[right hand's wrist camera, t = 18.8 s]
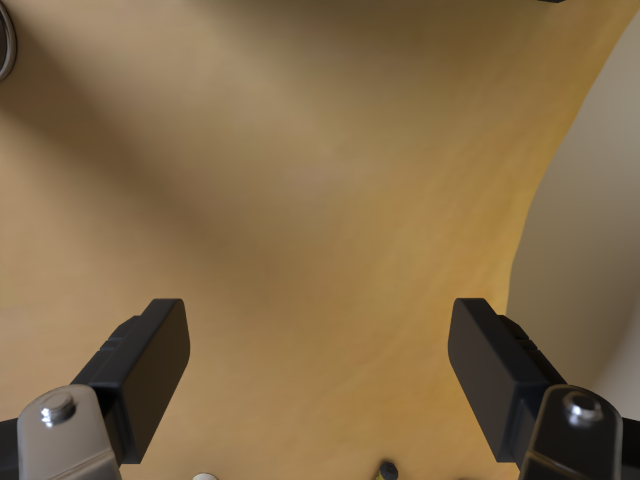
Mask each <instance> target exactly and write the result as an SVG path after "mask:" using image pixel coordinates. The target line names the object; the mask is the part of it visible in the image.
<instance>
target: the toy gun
mask: <svg viewBox="0 0 640 480" xmlns="http://www.w3.org/2000/svg"><path fill="white" fill-rule="evenodd" d="M397 478H398V470H397V469H396V467H395V466H394V464H391V463H384V464H382V466H381V467H380V471H379V475H378V476H377V477H376V480H397Z"/></svg>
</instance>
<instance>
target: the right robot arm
mask: <svg viewBox="0 0 640 480" xmlns="http://www.w3.org/2000/svg"><path fill="white" fill-rule="evenodd" d="M15 55H16V39H15V33H14V29H13V26H12V23H11V21H10V18H9V16H8V14H7V12H6V10H5V9H4V7H3V5H2V4H1V3H0V81H1V80H3V79H4V78H5V77H6V76H7V75H8V73H9V72H10V70H11V68H12V66H13V63H14V60H15ZM448 355H449V360H450V363H451V365H452V368H453V370H454V372H455V374H456V376H457V378H458V380H459V382H460V385H461V387H462V389H463V391H464V393H465V395H466V397H467V399H468V402H469V404H470V406H471V408H472V410H473V412H474V414H475V416H476V419H477V421H478V423H479V425H480V427H481V429H482V431H483V433H484V436H485V438H486V440H487V442H488V444H489V446H490V448H491V451H492V453H493V455H494V457H495V459H496V461H497V462H515V463H516V465H517V466H518V468H519V470H520V474H519V478H518V480H640V421H636V420H632V419H628V418H623V417H621V416H620V414H619V412H618V411H617V410H616V409H615V408H614V406H612V405H611V404H610V403H609V402H608V401H607V400H605V399H604V398H602V397H601V396H599V395H597V394H595V393H593V392H592V391H589V390H587V389H584V388H581V387H578V386H573V385H568V384H567V383H566V381H565V380H564V379H563V378H562V377H561V375H560V374H559V373H558V372H557V371H556V369H555V368H554V367H553V366H552V365H551V363H550V362H549V361H548V360H547V358H546V357H545V356H544V355H543V354H542V352H541V351H540V350H538V349H537V346H536V345H535V344H534V343H533V342H532V340H529V337H528V336H527V334H526V333H525V332H524V331H523V330H522V328H521V327H520V326H519V325H518V324H516V323H515V322H513V321H512V320H510V319H509V318H507V317H506V316H504V315H497V314H496V313H495V312H494V310H493V309H492V308H491V306H490V305H489V304H488V302H487V301H486V300H485V299H484V298H457V299H456V300H455V302H454V305H453V312H452V318H451V325H450V332H449V339H448ZM189 356H190V339H189V332H188V326H187V319H186V312H185V306H184V302H183V300H182V299H154V300H152V301H151V303H150V304H149V305H148V307H147V308H146V309H145V310H144V312H143V313H142V314H141V316H133V317H132V318H130V319H129V320H127V321H126V322H124V323H123V324H121V325H119V326H118V327H117V329H116V330H115V331H114V332H113V333H112V335H111V336H110V337H109V338H108V341H106V342H105V343H104V344H103V345H102V346H101V348H100V351H97V352H96V354H95V355H94V356H93V357H92V358H91V360H90V361H89V362H88V363H87V364H86V366H85V367H84V368H83V369H82V370H81V372H80V373H79V374H78V375H77V376H76V377H75V379H74V380H73V381H72V382H71V383H70V385H66V386H62V387H59V388H56V389H53V390H51V391H48V392H47V393H45V394H43V395H41V396H39V397H38V398H36V399H35V400H33V401H32V402H31V403H30V404H29V405H28V406H26V408H25V409H24V410H23V411H22V412H21V414H20V416H19V417H18V418H15V419H11V420H6V421H2V422H0V480H122V478H121V474H120V471H119V468H120V466H121V464H140V463H141V461H142V459H143V457H144V454H145V452H146V450H147V448H148V446H149V444H150V442H151V440H152V438H153V436H154V433H155V431H156V429H157V427H158V425H159V423H160V421H161V419H162V417H163V415H164V412H165V410H166V408H167V406H168V404H169V402H170V400H171V398H172V396H173V394H174V391H175V389H176V387H177V385H178V383H179V381H180V379H181V377H182V375H183V372H184V370H185V368H186V366H187V364H188V361H189Z"/></svg>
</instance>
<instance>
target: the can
mask: <svg viewBox="0 0 640 480" xmlns="http://www.w3.org/2000/svg"><path fill="white" fill-rule="evenodd" d="M193 480H217V478H216V477H214V476H213V475H211V474H206V473H202V474H198V475H196V476H195V477H194V478H193Z"/></svg>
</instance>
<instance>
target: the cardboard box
mask: <svg viewBox="0 0 640 480" xmlns="http://www.w3.org/2000/svg"><path fill="white" fill-rule="evenodd" d="M540 1H547V2H554V3H559V2H562V1H565V0H540Z"/></svg>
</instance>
